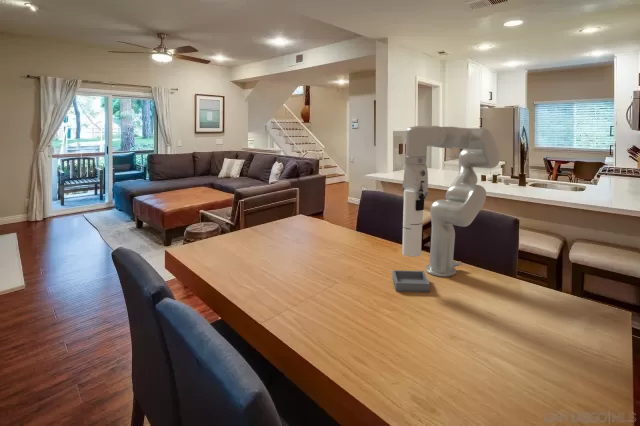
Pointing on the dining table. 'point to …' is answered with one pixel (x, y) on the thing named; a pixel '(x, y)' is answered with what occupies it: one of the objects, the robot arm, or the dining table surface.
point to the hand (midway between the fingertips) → (413, 207)
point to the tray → (410, 281)
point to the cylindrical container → (411, 225)
